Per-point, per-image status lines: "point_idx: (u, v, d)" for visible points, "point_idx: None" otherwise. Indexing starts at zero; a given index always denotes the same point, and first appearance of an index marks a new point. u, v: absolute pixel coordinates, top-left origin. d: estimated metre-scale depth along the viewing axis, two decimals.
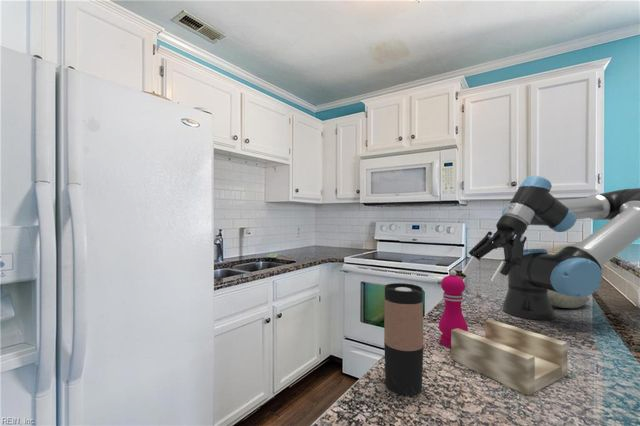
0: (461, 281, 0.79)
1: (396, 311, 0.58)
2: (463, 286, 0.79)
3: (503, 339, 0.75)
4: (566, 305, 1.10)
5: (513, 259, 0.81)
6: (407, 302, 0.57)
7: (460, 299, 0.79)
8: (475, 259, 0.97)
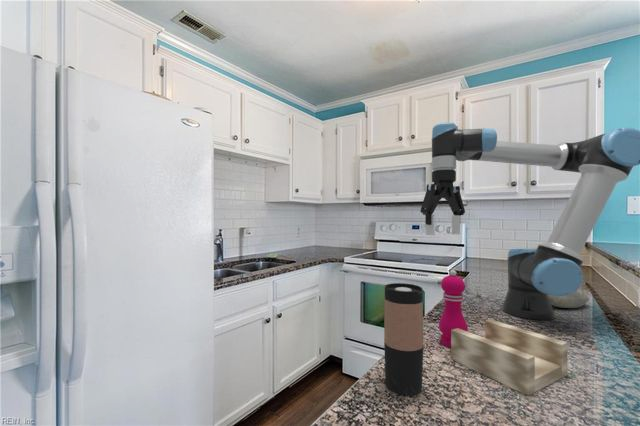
0: (461, 281, 0.79)
1: (396, 311, 0.58)
2: (463, 286, 0.79)
3: (503, 339, 0.75)
4: (566, 305, 1.10)
5: None
6: (407, 302, 0.57)
7: (460, 299, 0.79)
8: (454, 216, 1.04)
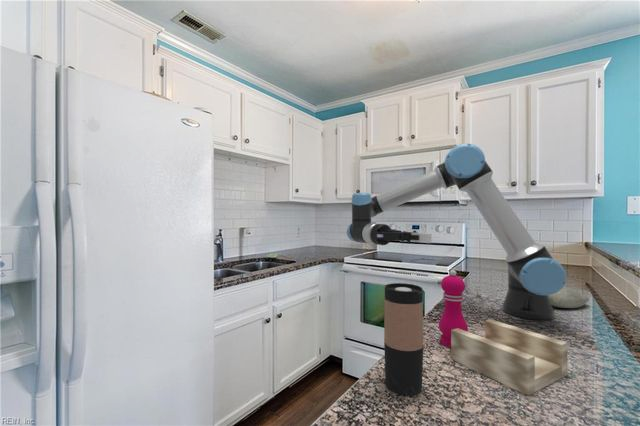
0: (461, 281, 0.79)
1: (396, 311, 0.58)
2: (463, 286, 0.79)
3: (503, 339, 0.75)
4: (566, 305, 1.10)
5: (403, 240, 0.93)
6: (407, 302, 0.57)
7: (460, 299, 0.79)
8: None
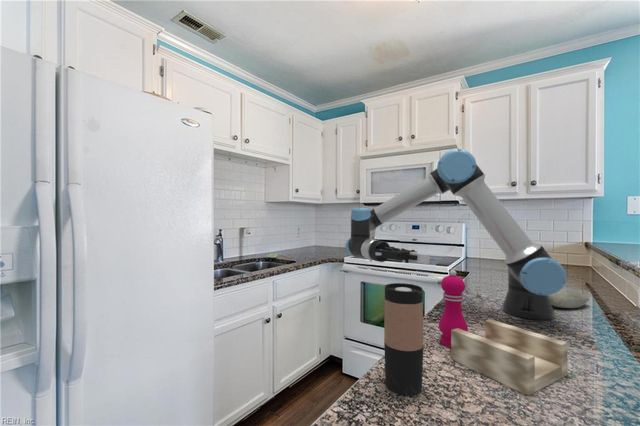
0: (461, 281, 0.79)
1: (396, 311, 0.58)
2: (463, 286, 0.79)
3: (503, 339, 0.75)
4: (566, 305, 1.10)
5: (401, 260, 0.94)
6: (407, 302, 0.57)
7: (460, 299, 0.79)
8: None
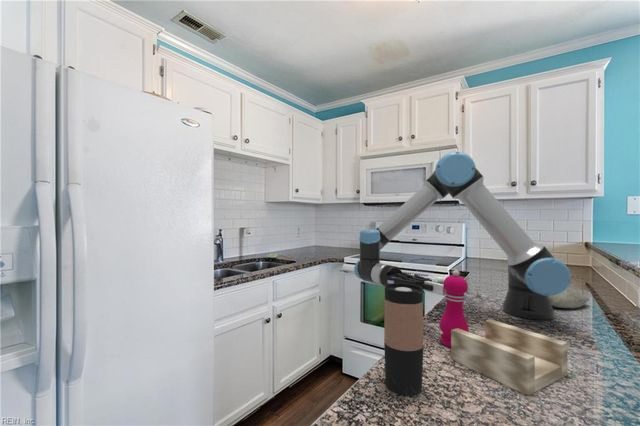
0: (464, 282, 0.79)
1: (396, 311, 0.58)
2: (466, 287, 0.78)
3: (503, 339, 0.75)
4: (566, 305, 1.10)
5: None
6: (407, 302, 0.57)
7: (462, 299, 0.79)
8: None
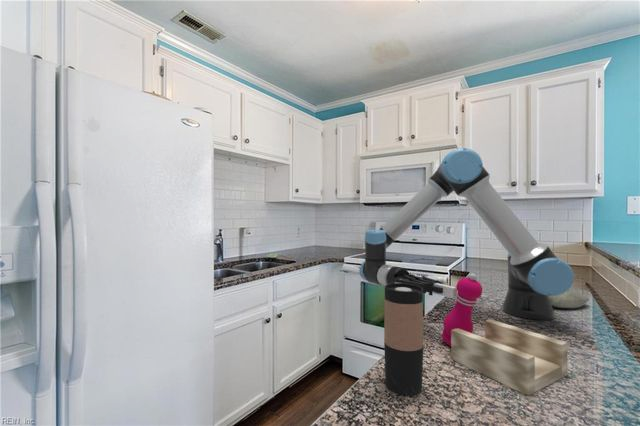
0: (480, 287, 0.75)
1: (396, 311, 0.58)
2: (480, 293, 0.75)
3: (503, 339, 0.75)
4: (566, 305, 1.10)
5: (424, 292, 0.85)
6: (407, 302, 0.57)
7: (473, 304, 0.76)
8: None
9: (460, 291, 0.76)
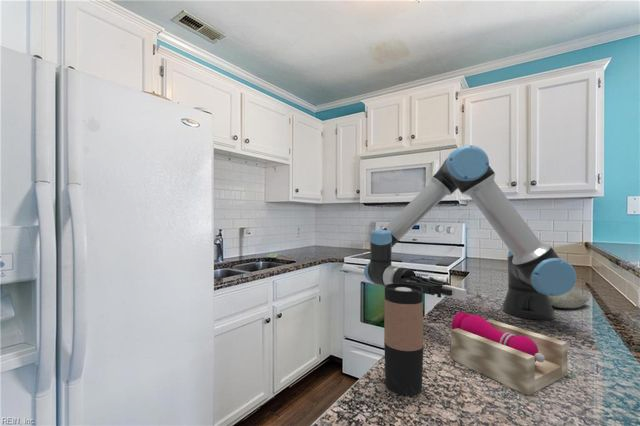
0: None
1: (396, 311, 0.58)
2: None
3: None
4: (566, 305, 1.10)
5: (433, 294, 0.83)
6: (407, 302, 0.57)
7: None
8: None
9: None
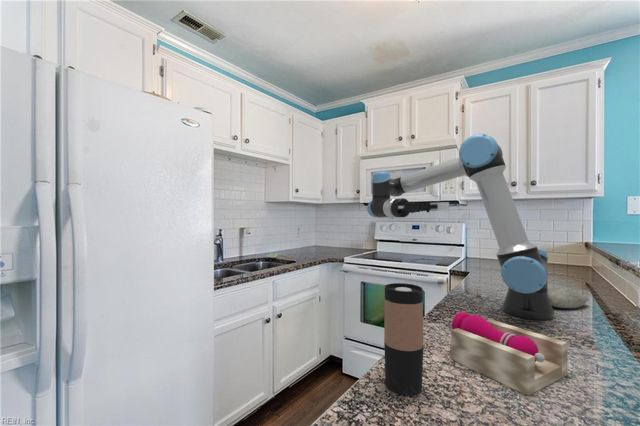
0: None
1: (396, 311, 0.58)
2: None
3: None
4: (565, 305, 1.10)
5: (422, 210, 1.05)
6: (407, 302, 0.57)
7: None
8: None
9: None
